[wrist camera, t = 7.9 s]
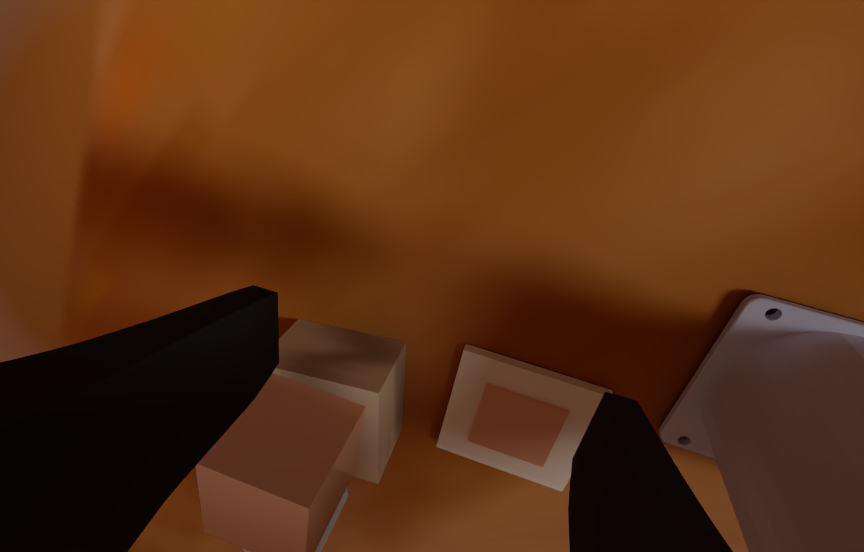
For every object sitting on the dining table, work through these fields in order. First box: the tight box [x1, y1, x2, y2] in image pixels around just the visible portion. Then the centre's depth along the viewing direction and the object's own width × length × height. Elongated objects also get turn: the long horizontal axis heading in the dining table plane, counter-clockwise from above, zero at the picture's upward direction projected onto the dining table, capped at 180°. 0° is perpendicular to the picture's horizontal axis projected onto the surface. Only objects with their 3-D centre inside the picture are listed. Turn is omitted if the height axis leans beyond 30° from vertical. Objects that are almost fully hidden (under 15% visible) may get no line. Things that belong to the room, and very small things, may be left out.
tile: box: [436, 344, 613, 492], centre depth 22 cm, size 7×7×1 cm
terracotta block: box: [196, 374, 366, 552], centre depth 19 cm, size 4×4×5 cm
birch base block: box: [265, 319, 406, 484], centre depth 23 cm, size 6×6×4 cm
